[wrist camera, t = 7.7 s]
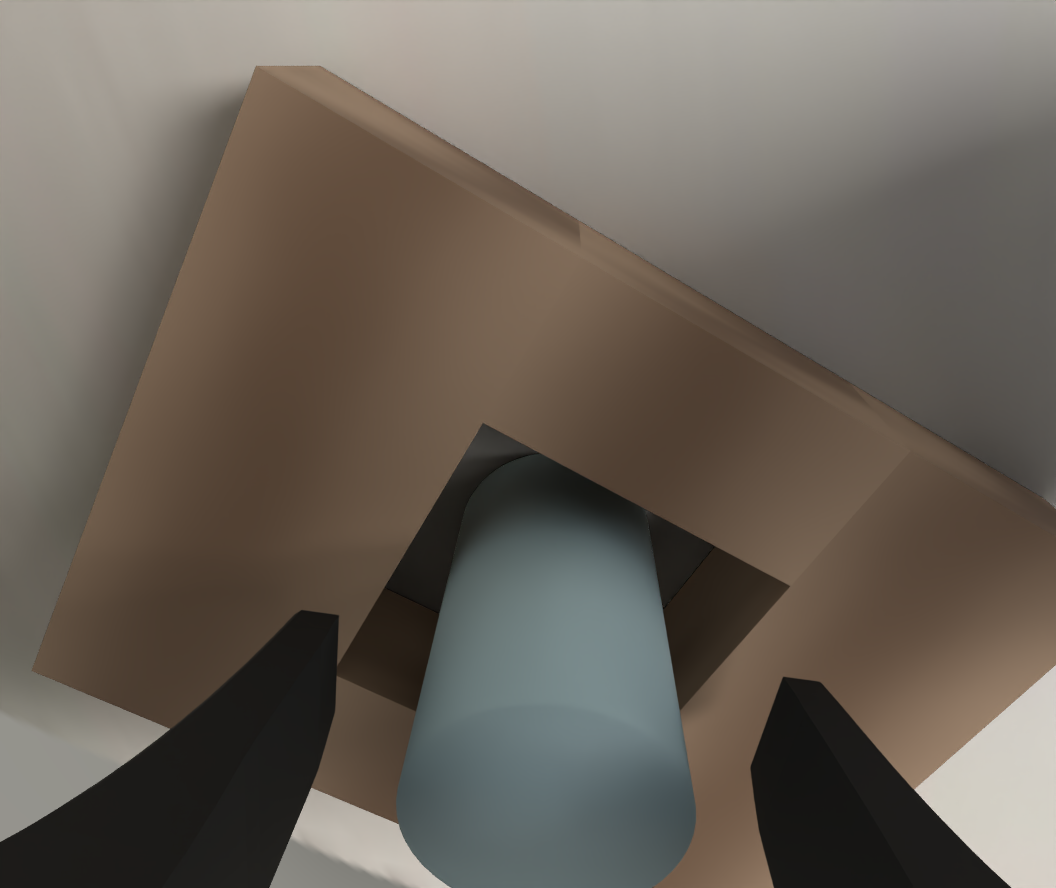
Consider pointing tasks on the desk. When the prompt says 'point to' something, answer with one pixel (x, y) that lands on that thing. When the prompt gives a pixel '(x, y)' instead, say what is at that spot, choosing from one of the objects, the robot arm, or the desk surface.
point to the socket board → (543, 425)
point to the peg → (548, 698)
